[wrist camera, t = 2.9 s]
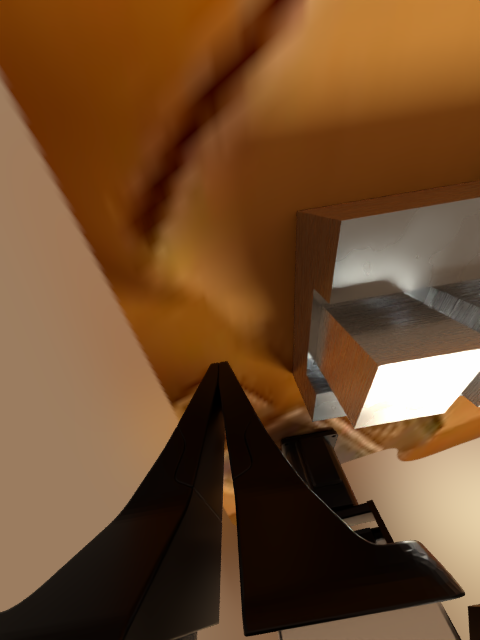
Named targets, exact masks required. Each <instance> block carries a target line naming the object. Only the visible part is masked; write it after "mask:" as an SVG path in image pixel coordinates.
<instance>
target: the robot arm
mask: <svg viewBox="0 0 480 640" xmlns="http://www.w3.org/2000/svg"><path fill="white" fill-rule="evenodd" d="M225 432H226V439H227V446H228V452H229V459H230V466H231V473H232V479H233V486H234V494H235V504H236V519H237V534H238V535H237V536H238V552H239V569H240V583H241V602H242V618H243V629H244V635H245V636H253V635H259V634H264V633H270V632H276V631H278V637H279V640H461V639H460V636H459V635H458V633H457V631H456V629H455V627H454V626H453V624H452V622H451V620H450V618H449V616H448V615H447V613H446V611H445V609H444V607H443V606H442V604H441V602H443V601H447V600H452V599H456V598H460V597H462V596H464V595H465V592H464V590H463V589H462V588H461V586H460V585H459V584H458V583H457V582H456V580H455V579H454V578H453V577H452V575H451V574H450V573H449V572H448V571H447V570H446V569H445V568H444V567H443V565H442V564H441V563H440V562H439V561H438V560H437V559H436V558H435V557H434V556H433V555H432V554H431V553H430V552H429V551H428V550H427V548H425V546H424V545H423V544H422V543H420V542H419V541H415V540H414V541H413V540H411V541H401V542H395V543H394V542H393V539H392V537H391V536H390V534H389V532H388V530H387V528H386V526H385V524H384V522H383V520H382V519H381V517H380V514H379V512H378V510H377V508H376V506H375V505H374V502H373V500H370V501H367V503H364V504H360V505H359V504H358V502H357V500H356V498H355V496H354V493H353V491H352V489H351V486H350V484H349V482H348V480H347V478H346V475H345V473H344V471H343V469H342V467H341V464H340V462H339V460H338V458H337V456H336V453H335V451H334V447H335V443H336V440H337V437H338V434H337V432H336V431H335V430H333V431H327V432H321V433H315V434H310V435H304V436H298V437H292V438H287V439H283V440H282V441H281V451H280V450H279V448H278V447H277V446H276V444H275V443H274V441H273V440H272V439H271V437H270V436H269V434H268V433H267V431H266V430H265V428H264V426H263V425H262V423H261V421H260V419H259V418H258V416H257V414H256V412H255V411H254V409H253V407H252V405H251V403H250V401H249V400H248V398H247V396H246V394H245V392H244V391H243V389H242V387H241V385H240V383H239V381H238V380H237V378H236V376H235V374H234V372H233V371H232V369H231V367H230V365H229V363H228V362H227V361H225V362H220V363H213V364H211V365H210V367H209V368H208V370H207V372H206V374H205V376H204V377H203V379H202V381H201V383H200V385H199V387H198V388H197V390H196V392H195V394H194V396H193V398H192V399H191V401H190V403H189V405H188V407H187V408H186V410H185V412H184V414H183V416H182V418H181V419H180V421H179V423H178V425H177V427H176V429H175V430H174V432H173V434H172V436H171V437H170V439H169V441H168V443H167V444H166V446H165V448H164V450H163V451H162V453H161V454H160V456H159V457H158V459H157V460H156V462H155V463H154V465H153V467H152V468H151V470H150V471H149V472H148V474H147V476H146V477H145V478H144V480H143V481H142V483H141V484H140V486H139V487H138V489H137V490H136V492H135V494H134V495H133V496H132V498H131V499H130V501H129V502H128V504H127V505H126V506H125V507H124V509H123V510H122V511H121V512H120V514H119V515H118V516H117V517H116V518H115V519H114V520H113V521H112V522H111V523H110V524H109V525H108V526H107V527H106V528H105V529H104V530H103V531H102V532H100V533H99V534H98V535H97V536H96V537H95V538H94V539H93V540H92V541H91V542H89V543H88V544H87V545H86V546H85V547H84V548H83V549H82V550H81V551H79V552H78V553H77V554H76V555H75V556H74V557H73V558H72V559H71V560H70V561H68V562H67V563H66V564H65V565H64V566H63V567H62V568H61V569H60V570H58V571H57V572H56V573H55V574H54V575H53V576H52V577H51V578H50V579H49V580H47V581H46V582H45V583H44V584H43V585H42V586H41V587H40V588H38V589H37V590H36V591H35V592H34V593H32V594H31V595H30V596H29V597H27V598H26V599H24V600H23V601H22V602H20V603H19V604H17V605H15V606H14V607H12V608H10V609H9V610H6V611H3V612H0V640H197V631H199V630H202V629H205V628H208V627H211V626H214V625H216V624H218V623H219V603H220V571H221V538H222V505H223V473H224V440H225ZM375 520H376V522H377V524H378V526H379V527H375V528H371V529H370V528H365V529H361V530H356V531H353V530H352V529H351V528H350V526H354V525H358V524H362V523H366V522H371V521H375ZM468 615H469V633H470V640H480V604H478V605H472V606H468Z"/></svg>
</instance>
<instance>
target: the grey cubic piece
mask: <svg viewBox="0 0 480 640" xmlns="http://www.w3.org/2000/svg"><path fill="white" fill-rule="evenodd" d="M315 362H316V364H317V366H318V367H319V369H320V371H321V372H322V374H323V376H324V378H325V379H326V381H327V383H328V384H329V386H330V388H331V390H332V391H333V393H334V395H335V396H336V398H337V400H338V402H339V403H340V405H341V407H342V408H343V410H344V412H345V414H346V415H347V417H348V419H349V420H350V422H351V424H352V426H353V427H354V429H356V428H361V427H367V426H373V425H379V424H384V423H390V422H396V421H402V420H407V419H413V418H419V417H425V416H430V415H436V414H442V413H445V412H446V410H447V409H448V408H449V407H450V406H451V404H452V403H453V402H454V401H455V400H456V399H457V397H458V396H459V395H460V394H461V393H462V391H463V390H464V389H465V388H466V387H467V386H468V384H469V383H470V382H471V381H472V380H473V378H474V377H475V376H476V375H477V374H478V372H479V371H480V333H478V332H476V331H475V330H473V329H471V328H469V327H467V326H465V325H463V324H461V323H459V322H458V321H456V320H454V319H452V318H450V317H448V316H446V315H444V314H442V313H441V312H439V311H437V310H435V309H433V308H431V307H429V306H427V305H425V304H424V303H422V302H420V301H418V300H416V299H414V298H412V297H410V296H408V295H407V294H405V293H403V292H398V293H392V294H386V295H380V296H374V297H368V298H362V299H357V300H351V301H345V302H339V303H333V304H327V305H322V310H321V318H320V327H319V335H318V343H317V352H316V360H315Z"/></svg>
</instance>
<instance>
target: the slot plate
mask: <svg viewBox="0 0 480 640" xmlns="http://www.w3.org/2000/svg"><path fill="white" fill-rule="evenodd" d="M474 279H480V181H474V182H468V183H462V184H456V185H450V186H444V187H438V188H432V189H426V190H420V191H414V192H408V193H402V194H397V195H391V196H385V197H379V198H373V199H367V200H361V201H355V202H349V203H343V204H337V205H331V206H325V207H319V208H313V209H307V210H301V211H297V229H296V267H295V305H294V344H293V376H294V379H295V381H296V383H297V386H298V388H299V391H300V393H301V395H302V398H303V400H304V403H305V405H306V407H307V410H308V412H309V414H310V417H311V419H312V422H313V421H319V420H325V419H331V418H336V417H342V416H347V415H346V414H345V412H344V410H343V408H342V407H341V405H340V403H339V402H338V400H337V398H336V396H335V395H334V393H333V391H332V390H331V388H330V386H329V384H328V383H327V381H326V379H325V378H324V376H323V374H322V372H321V371H320V369H319V367H318V366H317V364H316V362H315V360H316V352H317V343H318V335H319V327H320V318H321V310H322V305H327V304H333V303H339V302H345V301H351V300H357V299H362V298H368V297H374V296H380V295H386V294H392V293H398V292H403V293H405V294H407V295H408V296H410V297H412V298H414V299H416V300H418V301H420V302H422V303H424V301H425V299H426V297H427V295H428V293H429V290H430V288H431V287H433V286H439V285H444V284H450V283H456V282H462V281H468V280H474ZM459 396H463V395H462V394H460V395H459Z"/></svg>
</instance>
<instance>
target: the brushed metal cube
mask: <svg viewBox="0 0 480 640" xmlns="http://www.w3.org/2000/svg"><path fill="white" fill-rule="evenodd" d="M424 304H425V305H427V306H429V307H431V308H433V309H435V310H437V311H439V312H441V313H442V314H444V315H446V316H448V317H450V318H452V319H454V320H456V321H458V322H459V323H461V324H463V325H465V326H467V327H469V328H471V329H473V330H475V331H476V332H478V333H480V279H474V280H468V281H462V282H456V283H450V284H444V285H439V286H433V287H431V288H430V290H429V293H428V295H427V297H426V299H425V301H424ZM461 394H462V395H463V396H465V397H466V398H467V399H468V400H470V401H471V402H472V403H473V404H474V405H476V406H477V407H480V371H479V372H478V374H477V375H476V376H475V377H474V378H473V380H472V381H471V382H470V383H469V384H468V386H467V387H466V388H465V389H464V390H463V391H462V393H461Z"/></svg>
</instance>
